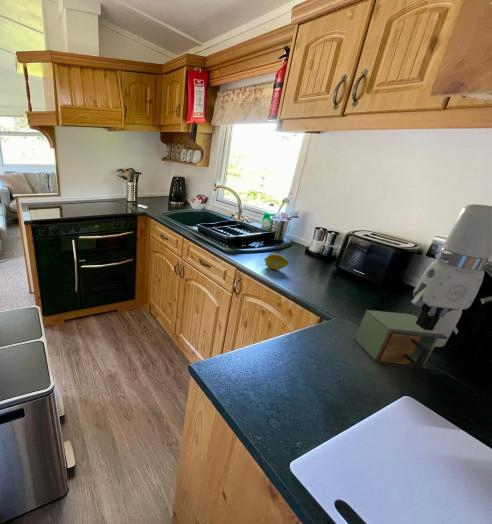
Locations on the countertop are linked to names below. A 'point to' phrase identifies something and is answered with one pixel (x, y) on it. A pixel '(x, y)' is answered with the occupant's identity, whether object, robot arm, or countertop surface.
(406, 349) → the sliding door
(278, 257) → the lemon
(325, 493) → the countertop surface
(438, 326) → the milk bottle
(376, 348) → the cupboard
